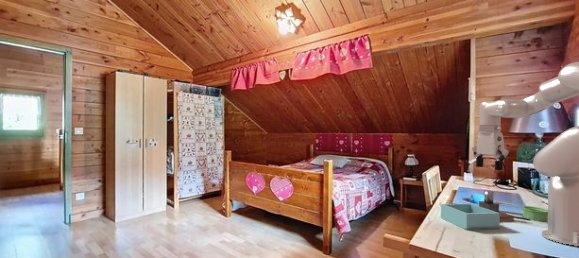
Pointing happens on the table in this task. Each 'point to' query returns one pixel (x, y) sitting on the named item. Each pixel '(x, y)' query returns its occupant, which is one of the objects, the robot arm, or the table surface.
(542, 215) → the ramekin
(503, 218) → the stud plate
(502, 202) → the adjustable wrench
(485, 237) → the table surface
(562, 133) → the robot arm
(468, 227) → the bin
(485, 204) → the square base knob
